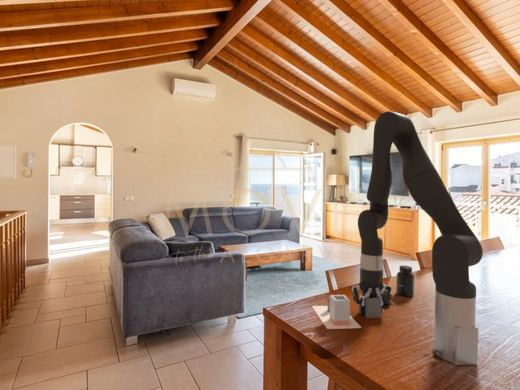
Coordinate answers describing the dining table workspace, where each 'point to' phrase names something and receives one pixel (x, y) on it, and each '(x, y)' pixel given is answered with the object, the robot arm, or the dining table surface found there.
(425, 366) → the dining table surface
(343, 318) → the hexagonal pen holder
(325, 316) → the pin board
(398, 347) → the dining table surface
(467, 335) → the robot arm
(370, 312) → the charcoal sleeve
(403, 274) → the supplement bottle
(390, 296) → the skull
